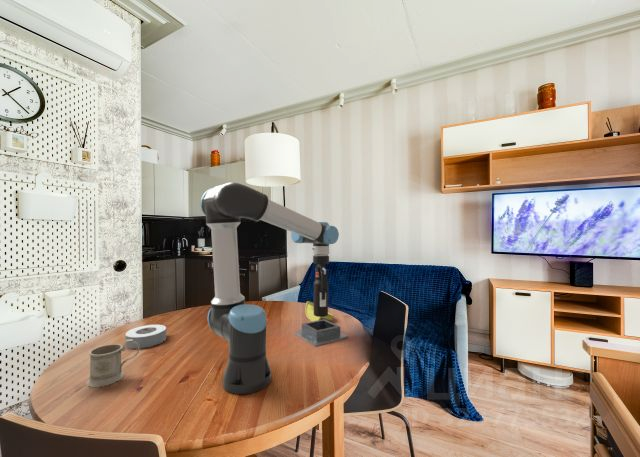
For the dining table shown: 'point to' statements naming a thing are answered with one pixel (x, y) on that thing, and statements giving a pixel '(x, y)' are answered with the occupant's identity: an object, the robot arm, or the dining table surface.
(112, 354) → the mug
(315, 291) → the vinegar
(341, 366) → the dining table surface
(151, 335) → the tape roll
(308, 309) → the plastic component
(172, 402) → the dining table surface
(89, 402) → the dining table surface
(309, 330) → the duct collar
